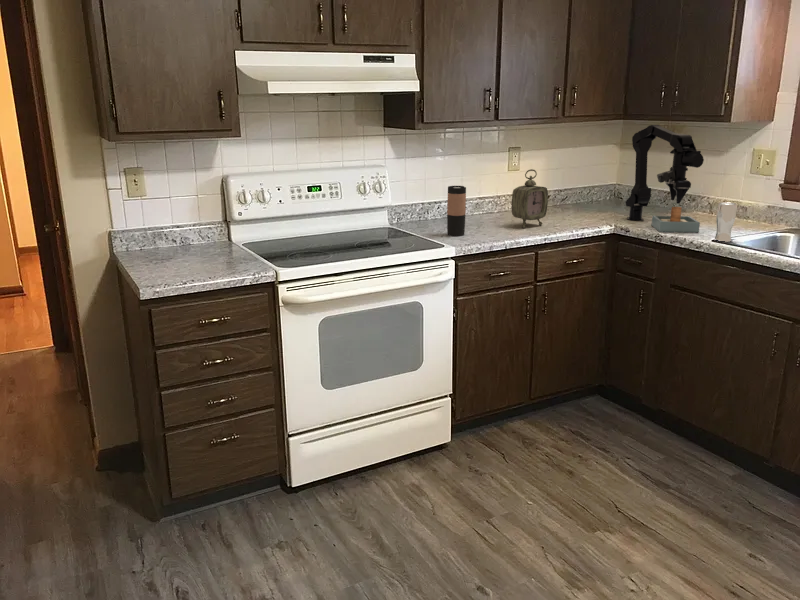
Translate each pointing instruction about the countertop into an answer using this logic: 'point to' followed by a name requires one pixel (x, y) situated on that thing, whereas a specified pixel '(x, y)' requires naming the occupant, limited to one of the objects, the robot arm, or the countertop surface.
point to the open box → (675, 224)
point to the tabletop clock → (529, 201)
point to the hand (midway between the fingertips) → (675, 201)
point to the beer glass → (725, 220)
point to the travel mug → (456, 210)
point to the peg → (675, 214)
